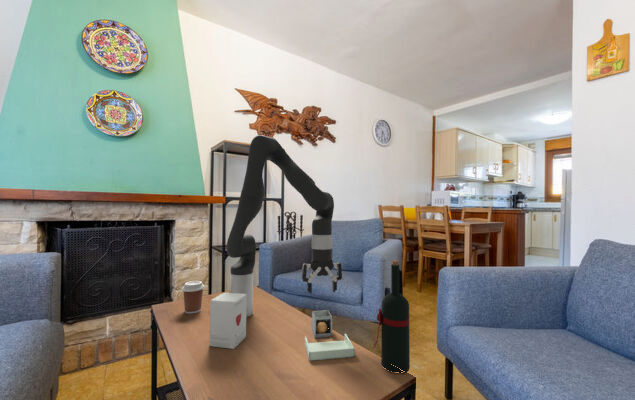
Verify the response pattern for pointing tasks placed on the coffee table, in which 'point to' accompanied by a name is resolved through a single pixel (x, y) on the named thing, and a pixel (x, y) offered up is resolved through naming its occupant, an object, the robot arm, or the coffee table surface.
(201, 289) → the coffee cup
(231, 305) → the supplement box
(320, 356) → the tray
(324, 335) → the grey hollow box
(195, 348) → the coffee table surface
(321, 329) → the ball
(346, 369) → the coffee table surface
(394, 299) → the wine bottle
